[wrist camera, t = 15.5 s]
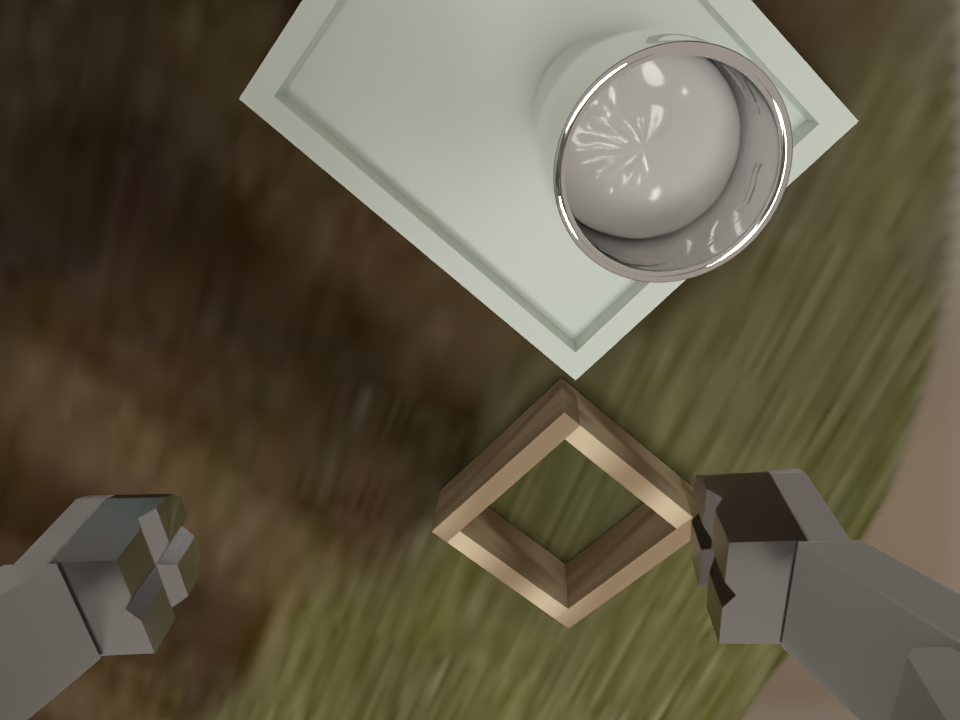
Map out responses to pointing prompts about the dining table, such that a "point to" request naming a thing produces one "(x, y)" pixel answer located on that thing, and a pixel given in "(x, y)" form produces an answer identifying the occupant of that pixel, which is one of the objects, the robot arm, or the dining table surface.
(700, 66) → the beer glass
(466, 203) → the tray
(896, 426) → the dining table surface
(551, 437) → the sleeve
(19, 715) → the robot arm
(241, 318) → the dining table surface
